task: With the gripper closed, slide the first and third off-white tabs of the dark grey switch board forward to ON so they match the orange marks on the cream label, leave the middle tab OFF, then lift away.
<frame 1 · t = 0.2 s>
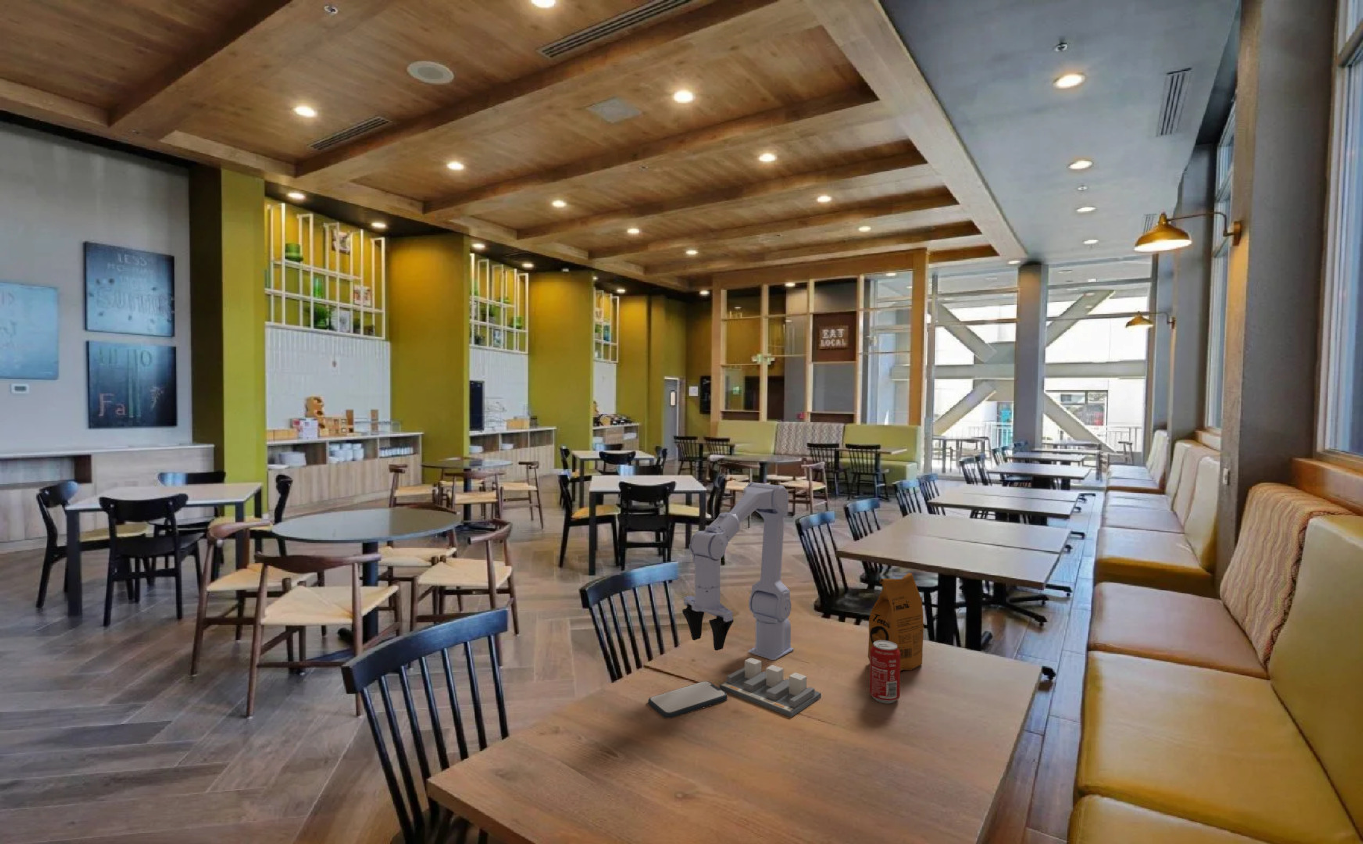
hand: (707, 644, 147), 10 cm above the table, tool pointing down, fingers open, 7 cm apart
coffee package: (894, 665, 160), on the table
tab 3: (797, 685, 142), point 3 cm above the table, slide at 0.0 cm
smartphone: (687, 703, 140), on the table
switch board: (769, 693, 144), on the table
beverage can: (884, 699, 142), on the table
tab 2: (774, 676, 146), point 3 cm above the table, slide at 0.0 cm
tab 1: (753, 669, 150), point 3 cm above the table, slide at 0.0 cm
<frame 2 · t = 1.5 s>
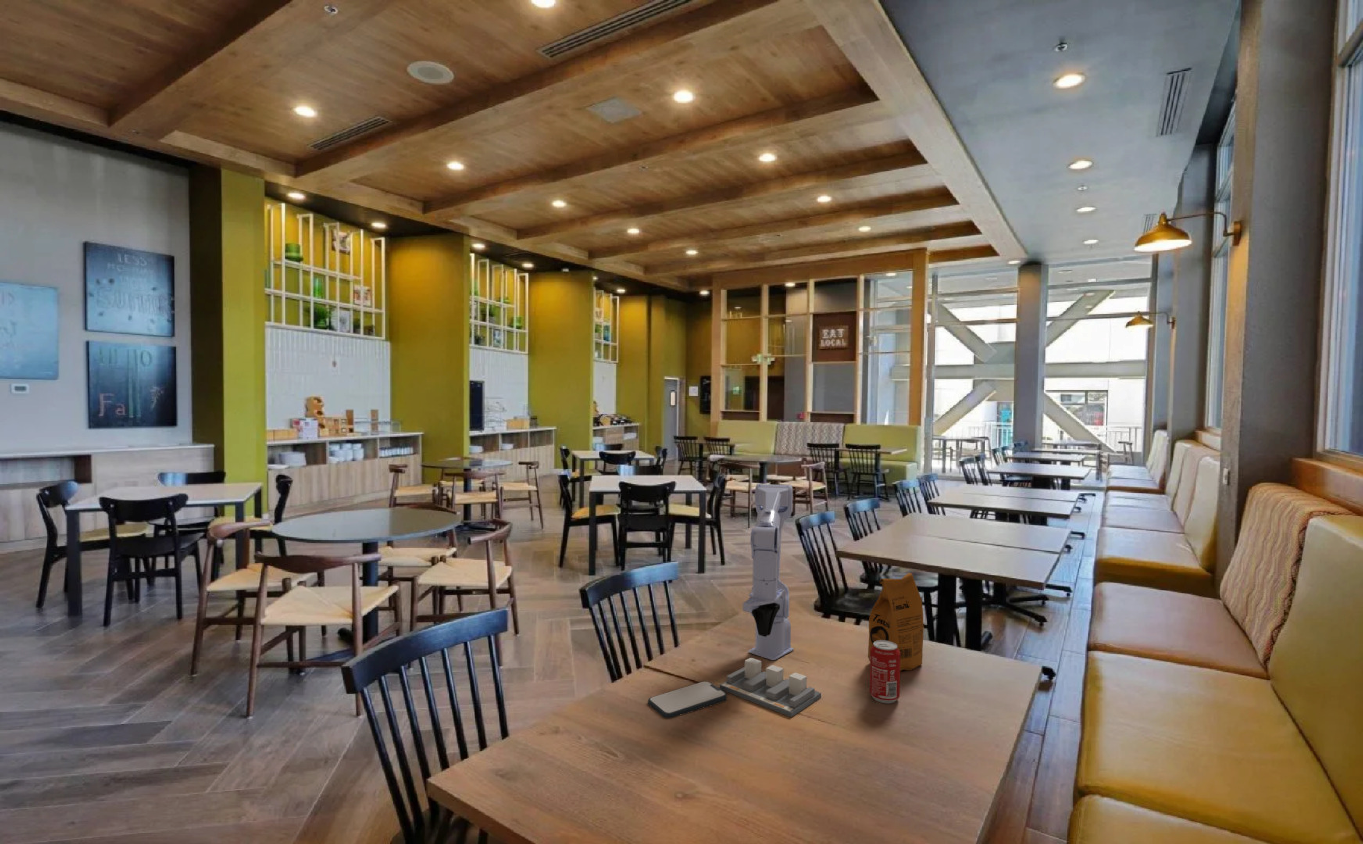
hand: (764, 634, 153), 10 cm above the table, tool pointing down, fingers closed
nothing on the table moved.
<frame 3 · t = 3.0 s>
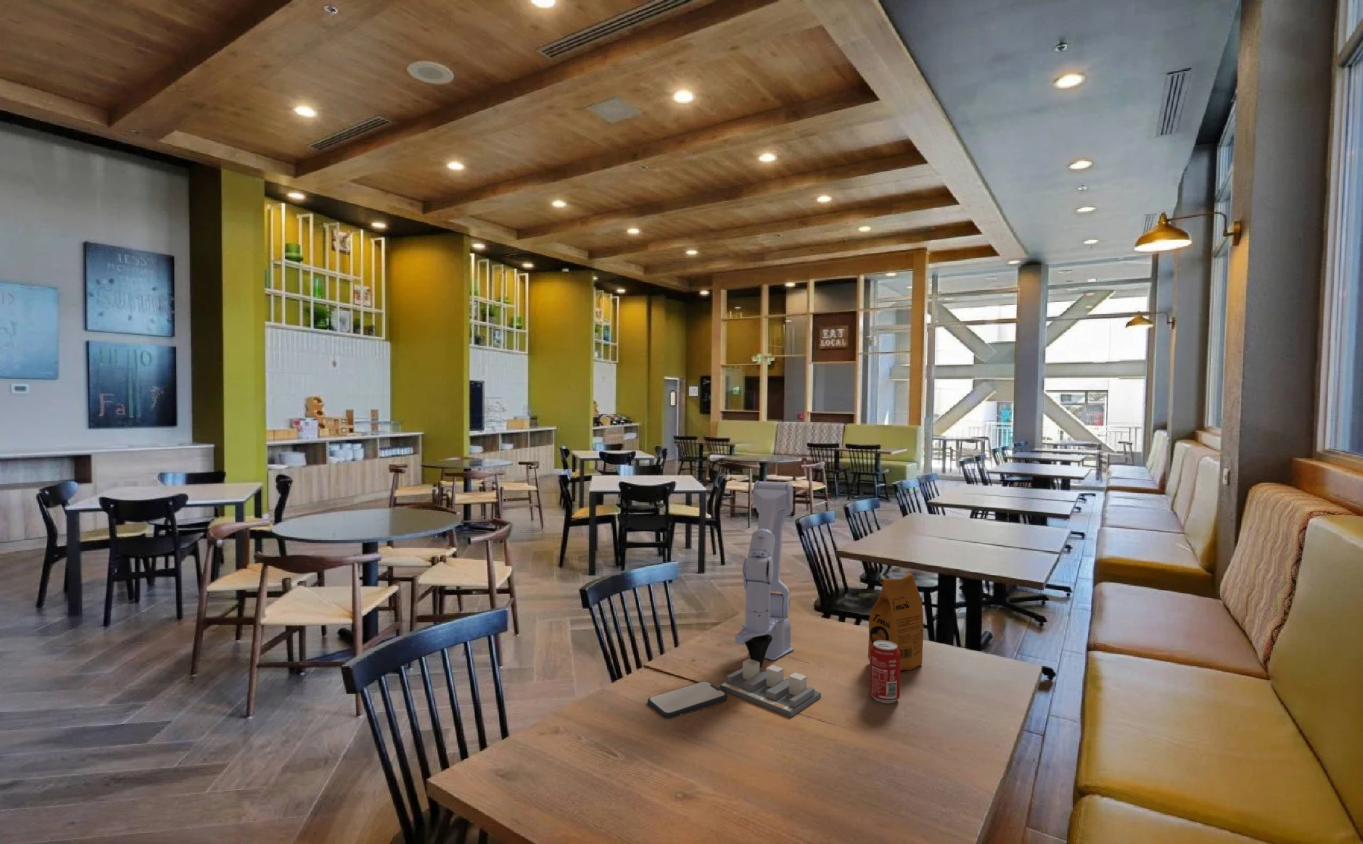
hand: (757, 666, 151), 3 cm above the table, tool pointing down, fingers closed
tab 1: (751, 670, 149), point 3 cm above the table, slide at 0.7 cm, touching gripper
everything else where it was.
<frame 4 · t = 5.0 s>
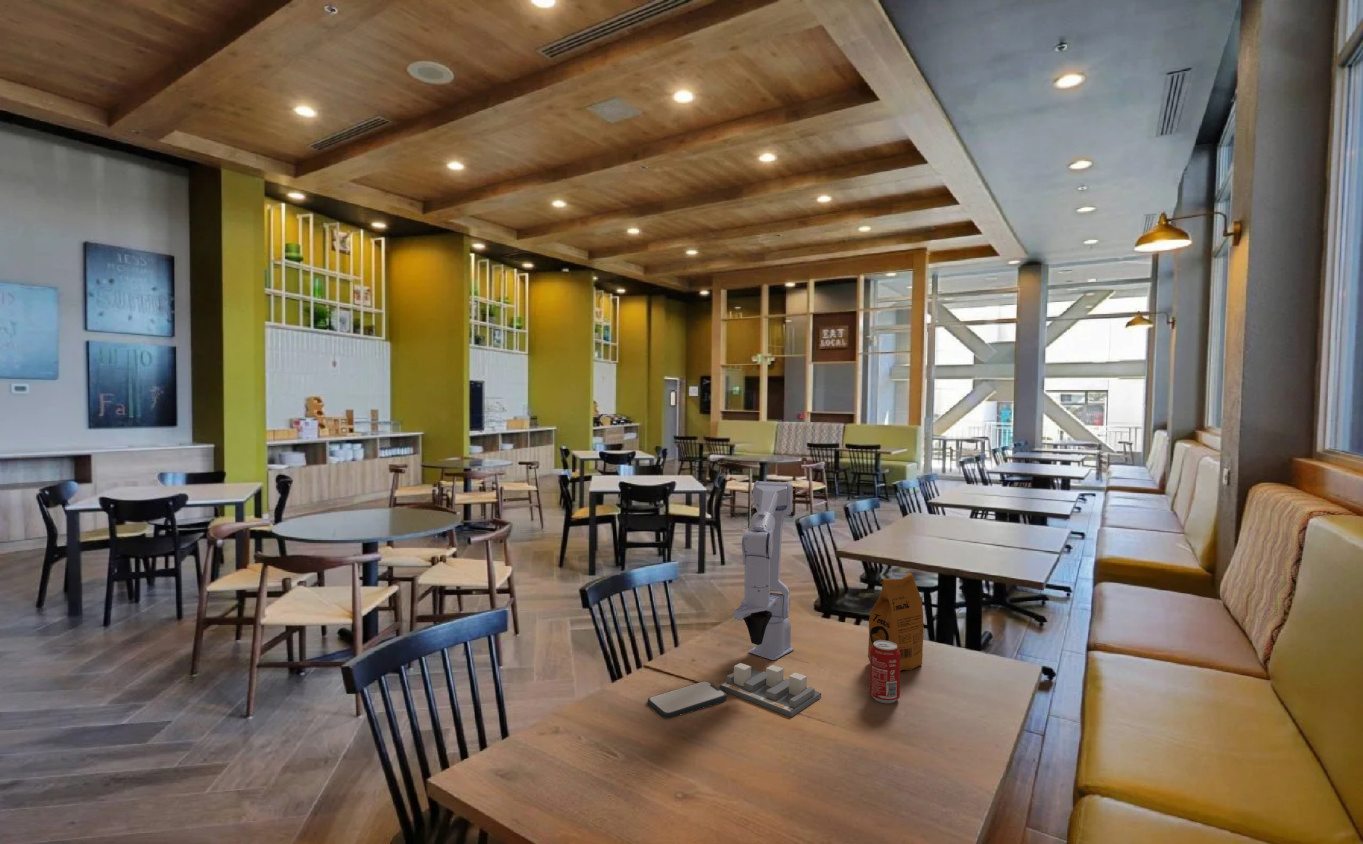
hand: (756, 643, 147), 10 cm above the table, tool pointing down, fingers closed
tab 1: (742, 674, 147), point 3 cm above the table, slide at 4.1 cm
everything else where it was.
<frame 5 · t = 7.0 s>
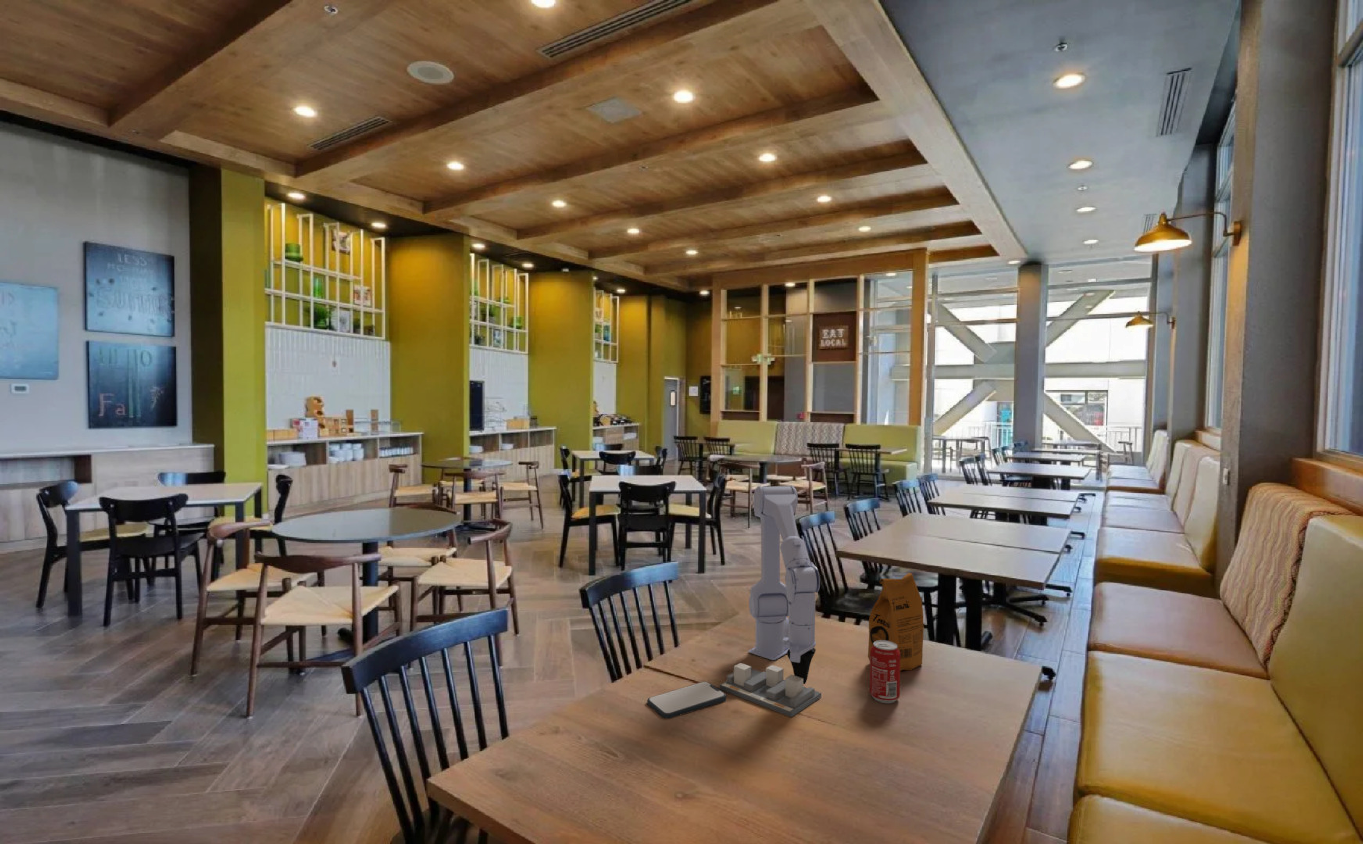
hand: (801, 682, 142), 3 cm above the table, tool pointing down, fingers closed
tab 3: (794, 687, 140), point 3 cm above the table, slide at 1.4 cm, touching gripper
everything else where it was.
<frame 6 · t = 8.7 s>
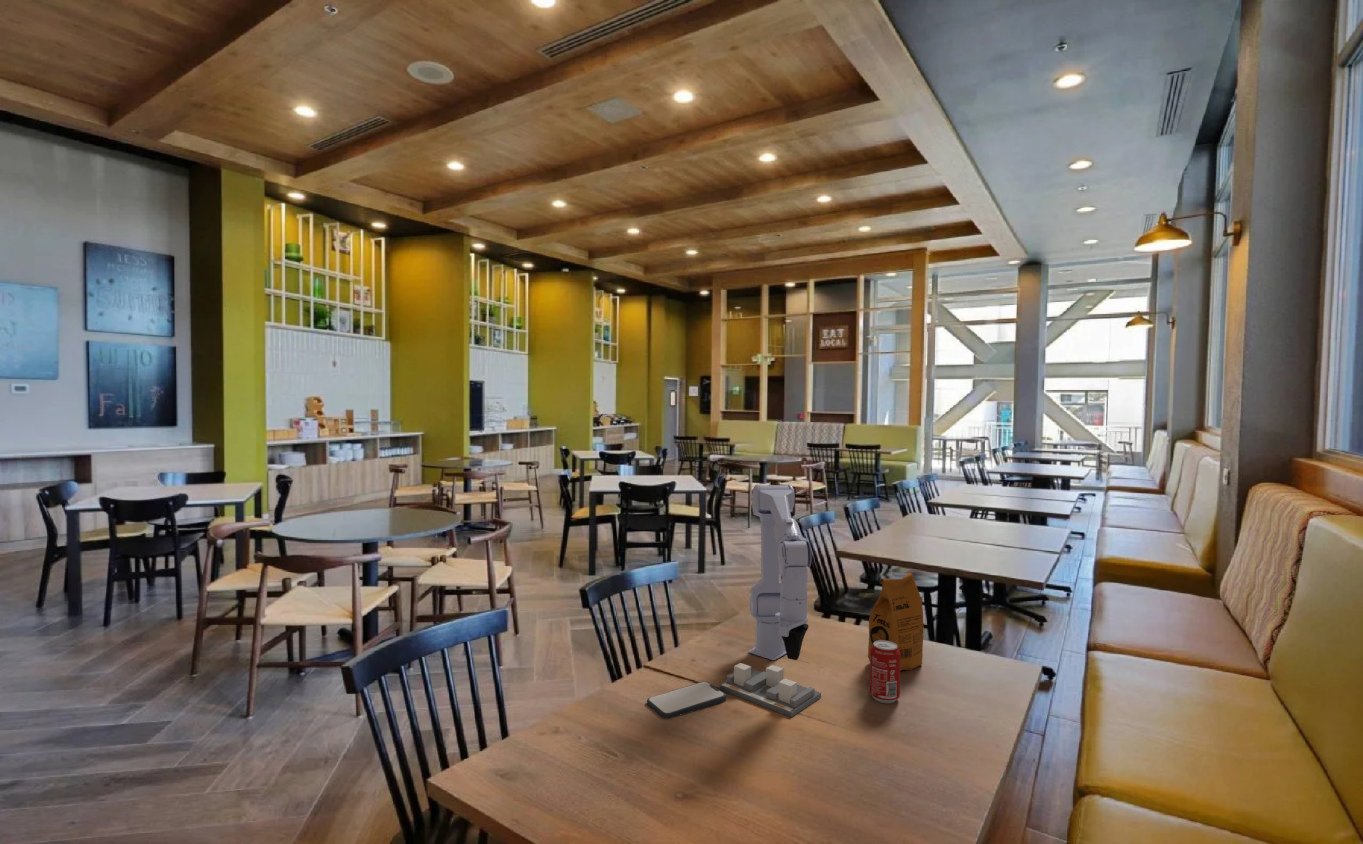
hand: (793, 658, 140), 10 cm above the table, tool pointing down, fingers closed
tab 3: (787, 691, 139), point 3 cm above the table, slide at 4.1 cm
everything else where it was.
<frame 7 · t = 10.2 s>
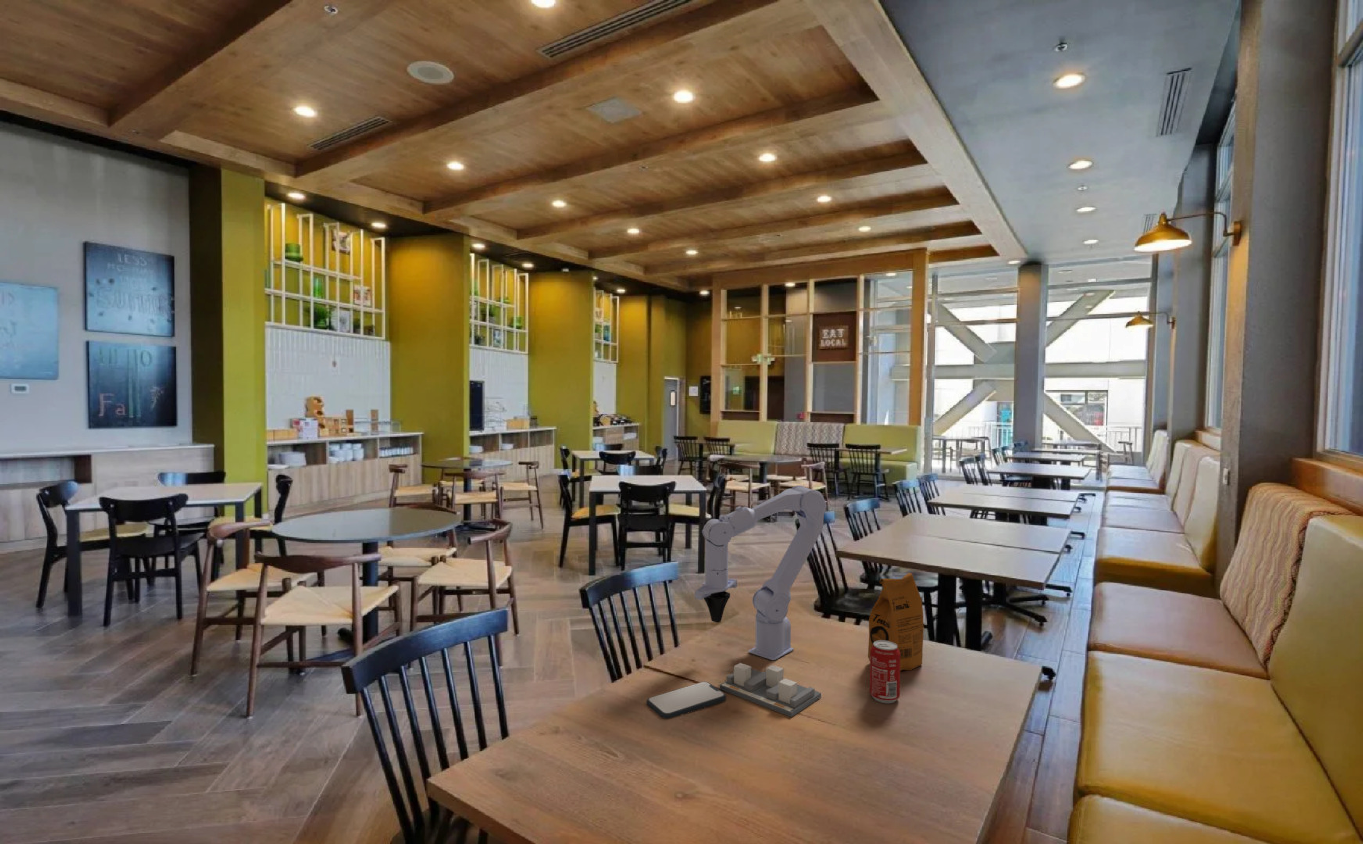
hand: (716, 621, 163), 9 cm above the table, tool pointing down, fingers closed
nothing on the table moved.
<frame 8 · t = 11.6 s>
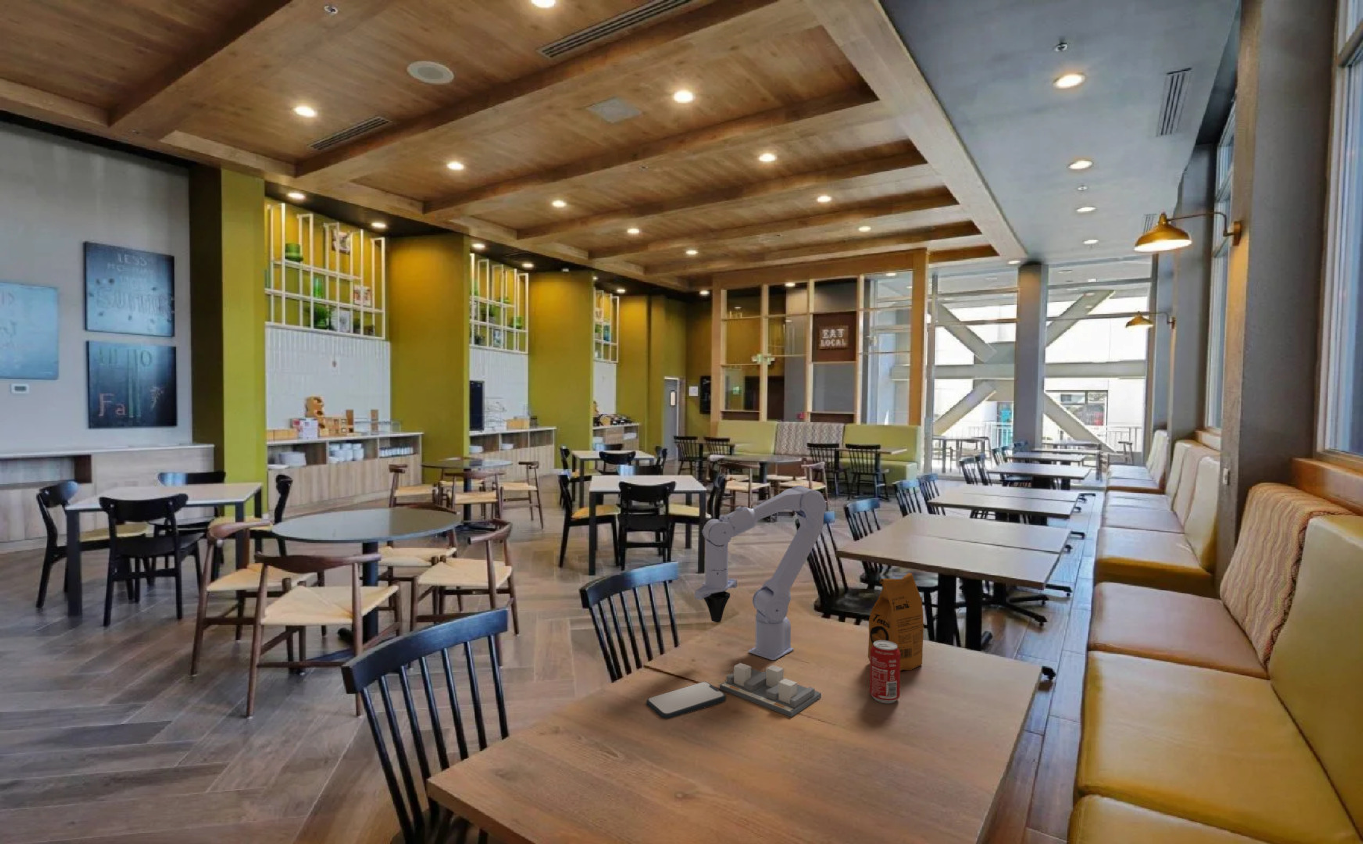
hand: (716, 621, 163), 9 cm above the table, tool pointing down, fingers closed
nothing on the table moved.
at the end: tab 1 slide at 4.1 cm; tab 3 slide at 4.1 cm; tab 2 slide at 0.0 cm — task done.
